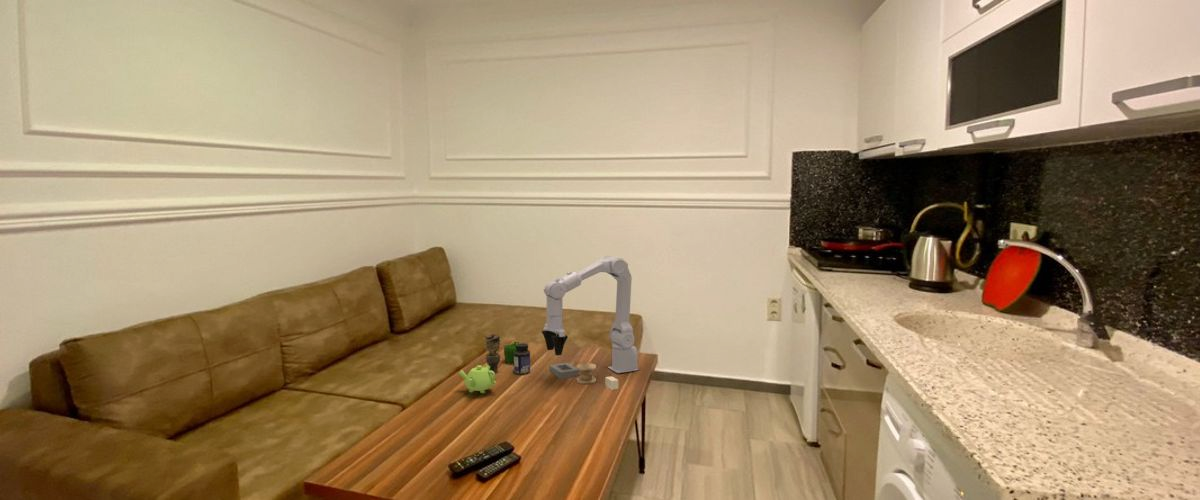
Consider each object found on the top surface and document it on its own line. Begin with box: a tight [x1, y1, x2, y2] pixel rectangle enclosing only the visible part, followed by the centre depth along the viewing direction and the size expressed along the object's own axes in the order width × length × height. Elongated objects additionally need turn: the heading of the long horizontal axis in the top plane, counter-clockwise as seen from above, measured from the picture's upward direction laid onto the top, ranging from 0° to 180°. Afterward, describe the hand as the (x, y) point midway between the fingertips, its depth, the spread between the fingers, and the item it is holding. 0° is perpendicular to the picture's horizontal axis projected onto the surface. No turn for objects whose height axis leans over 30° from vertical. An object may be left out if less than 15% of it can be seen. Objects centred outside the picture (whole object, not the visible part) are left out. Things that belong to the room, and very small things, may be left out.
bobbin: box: [576, 362, 597, 385], centre depth 187 cm, size 7×7×6 cm
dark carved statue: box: [485, 333, 501, 373], centre depth 195 cm, size 6×6×15 cm
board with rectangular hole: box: [549, 362, 580, 380], centre depth 195 cm, size 8×10×2 cm
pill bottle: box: [513, 342, 531, 376], centre depth 196 cm, size 6×6×11 cm
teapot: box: [458, 364, 497, 394], centre depth 177 cm, size 11×12×8 cm
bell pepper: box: [503, 340, 520, 365], centre depth 207 cm, size 8×8×10 cm
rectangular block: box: [604, 375, 619, 391], centre depth 181 cm, size 3×5×3 cm, turn 28°
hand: (554, 352), depth 185 cm, fingers open, 7 cm apart
